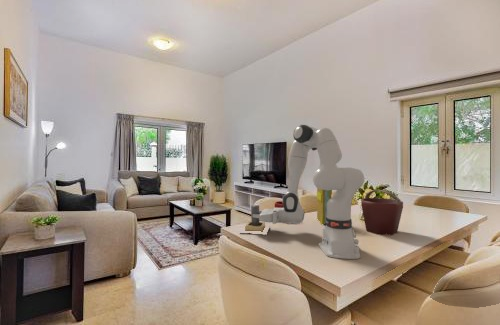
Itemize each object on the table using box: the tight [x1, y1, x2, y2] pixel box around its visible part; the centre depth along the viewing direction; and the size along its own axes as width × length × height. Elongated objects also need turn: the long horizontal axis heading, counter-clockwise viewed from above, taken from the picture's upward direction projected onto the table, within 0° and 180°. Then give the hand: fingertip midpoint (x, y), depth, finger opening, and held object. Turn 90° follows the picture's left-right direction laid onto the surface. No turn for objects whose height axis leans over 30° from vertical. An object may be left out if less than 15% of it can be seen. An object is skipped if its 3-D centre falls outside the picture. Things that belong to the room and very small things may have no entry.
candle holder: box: [244, 221, 266, 232], centre depth 151 cm, size 16×16×4 cm
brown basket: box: [360, 189, 404, 236], centre depth 150 cm, size 24×22×25 cm
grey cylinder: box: [250, 204, 261, 226], centre depth 151 cm, size 5×5×14 cm
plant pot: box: [274, 200, 284, 208], centre depth 183 cm, size 13×13×12 cm
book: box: [316, 187, 333, 225], centre depth 174 cm, size 17×7×25 cm, turn 179°
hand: (254, 214), depth 151 cm, fingers open, 7 cm apart
